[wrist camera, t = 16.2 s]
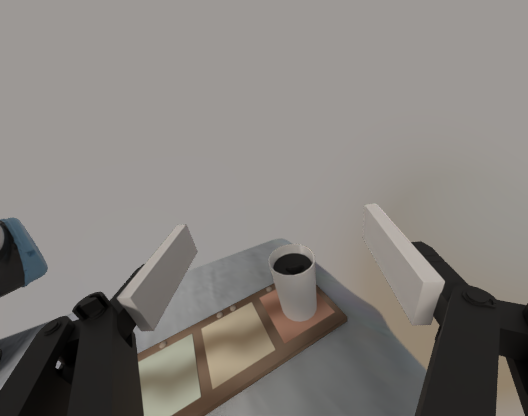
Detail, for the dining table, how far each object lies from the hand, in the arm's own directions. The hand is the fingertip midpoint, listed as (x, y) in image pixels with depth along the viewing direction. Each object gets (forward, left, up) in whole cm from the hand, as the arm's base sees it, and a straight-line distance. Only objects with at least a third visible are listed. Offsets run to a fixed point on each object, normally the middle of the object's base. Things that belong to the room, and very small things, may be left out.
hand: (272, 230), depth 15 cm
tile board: (-9, -6, -23) cm, 25 cm away
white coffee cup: (-8, +5, -22) cm, 24 cm away
